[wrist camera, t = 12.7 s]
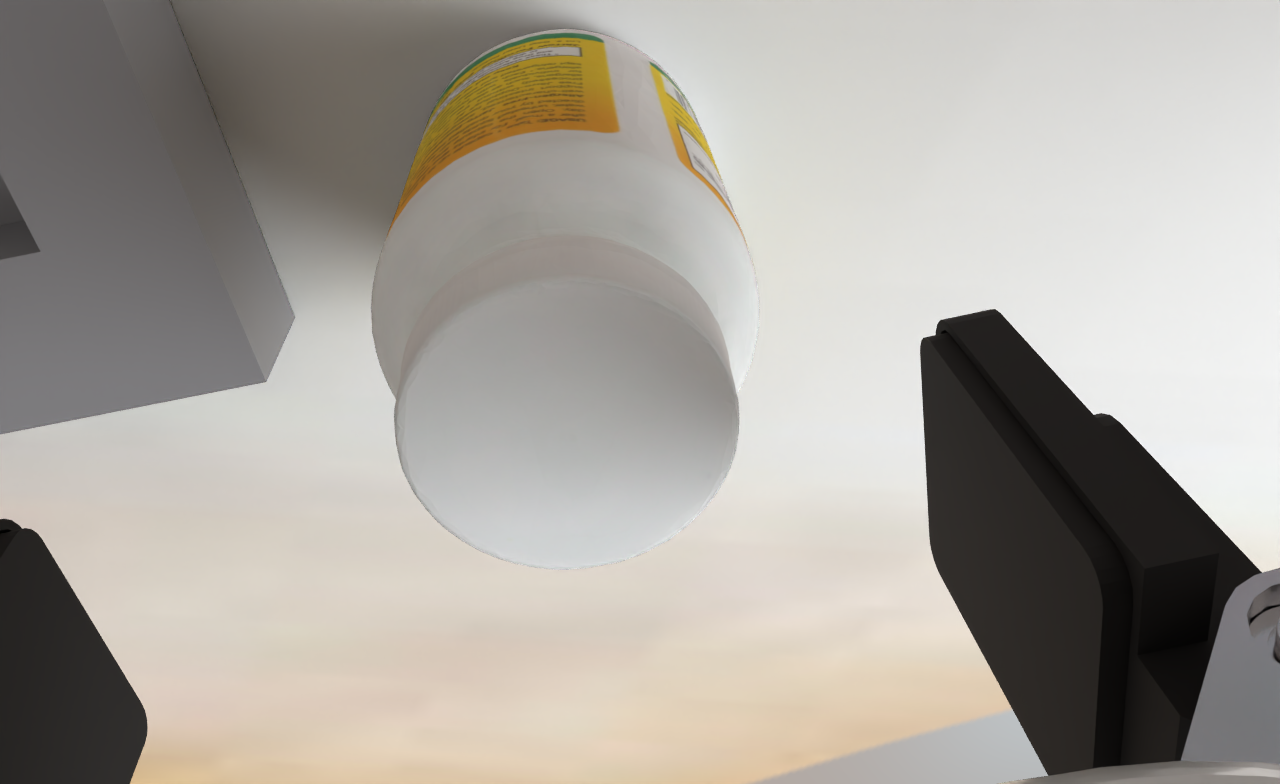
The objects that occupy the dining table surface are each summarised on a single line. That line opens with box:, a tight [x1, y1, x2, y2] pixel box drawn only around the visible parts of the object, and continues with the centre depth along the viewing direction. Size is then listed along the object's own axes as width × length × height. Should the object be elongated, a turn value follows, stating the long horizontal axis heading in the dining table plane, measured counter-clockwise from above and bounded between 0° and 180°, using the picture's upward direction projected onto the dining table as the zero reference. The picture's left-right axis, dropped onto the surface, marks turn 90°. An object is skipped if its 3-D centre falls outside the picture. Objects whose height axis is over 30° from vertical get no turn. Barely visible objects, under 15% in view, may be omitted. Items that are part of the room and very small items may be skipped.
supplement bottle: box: [371, 29, 760, 570], centre depth 16 cm, size 5×5×10 cm
